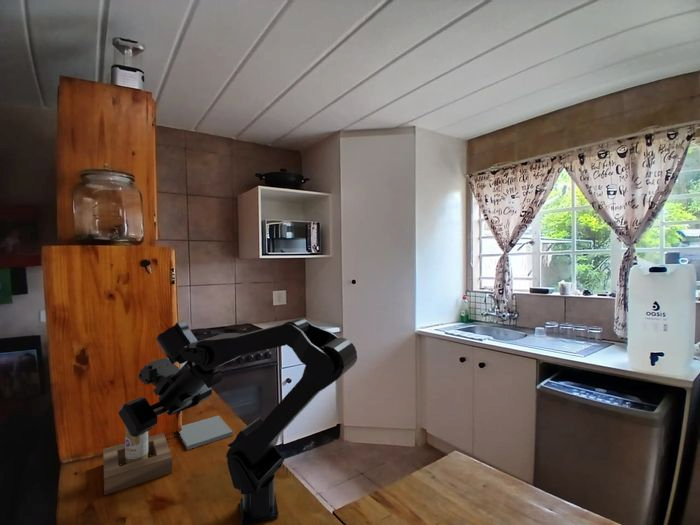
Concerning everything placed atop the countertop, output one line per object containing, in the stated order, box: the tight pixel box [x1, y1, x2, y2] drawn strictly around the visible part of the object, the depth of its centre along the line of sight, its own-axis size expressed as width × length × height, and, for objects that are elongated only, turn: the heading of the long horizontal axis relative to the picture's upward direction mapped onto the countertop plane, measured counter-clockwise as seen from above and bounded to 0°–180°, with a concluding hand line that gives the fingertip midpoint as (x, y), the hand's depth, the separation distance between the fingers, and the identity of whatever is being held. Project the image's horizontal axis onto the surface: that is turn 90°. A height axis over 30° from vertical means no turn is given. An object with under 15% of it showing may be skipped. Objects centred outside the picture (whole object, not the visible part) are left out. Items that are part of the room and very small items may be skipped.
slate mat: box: [179, 415, 234, 451], centre depth 92 cm, size 11×11×1 cm
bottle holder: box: [102, 432, 173, 496], centre depth 77 cm, size 12×12×4 cm
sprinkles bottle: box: [124, 424, 149, 465], centre depth 77 cm, size 5×5×14 cm
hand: (150, 422), depth 75 cm, fingers open, 9 cm apart
